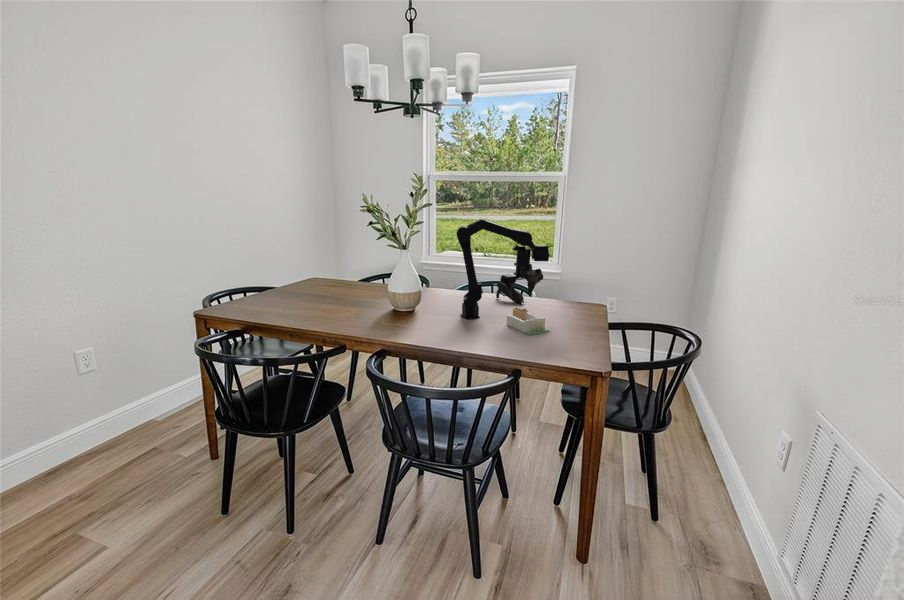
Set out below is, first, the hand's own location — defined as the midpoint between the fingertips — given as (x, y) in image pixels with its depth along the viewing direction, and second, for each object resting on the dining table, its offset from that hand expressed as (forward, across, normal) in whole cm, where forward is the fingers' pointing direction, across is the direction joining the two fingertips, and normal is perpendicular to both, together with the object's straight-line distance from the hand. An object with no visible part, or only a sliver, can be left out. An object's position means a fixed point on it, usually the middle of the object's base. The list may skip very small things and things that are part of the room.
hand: (521, 296), depth 181 cm
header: (+9, -5, -12) cm, 16 cm away
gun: (+10, +11, +23) cm, 27 cm away
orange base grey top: (+10, 0, 0) cm, 10 cm away
